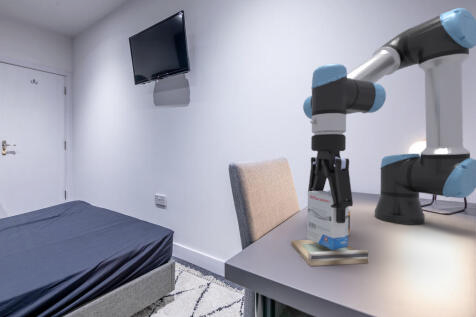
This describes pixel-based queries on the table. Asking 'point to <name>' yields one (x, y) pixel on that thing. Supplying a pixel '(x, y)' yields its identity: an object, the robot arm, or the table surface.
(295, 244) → the tan flat block
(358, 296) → the table surface
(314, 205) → the ink box
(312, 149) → the robot arm
